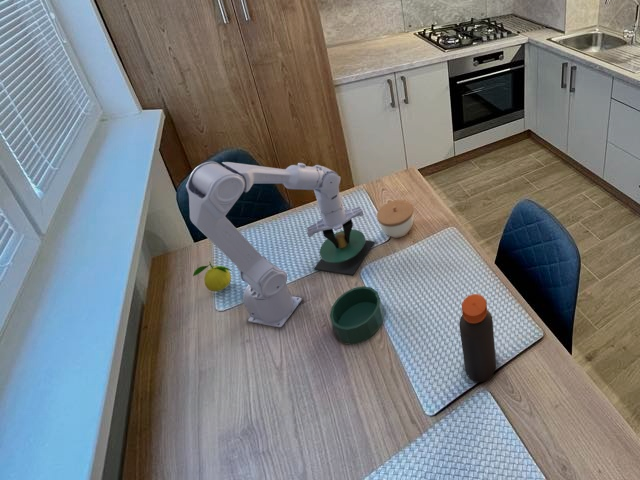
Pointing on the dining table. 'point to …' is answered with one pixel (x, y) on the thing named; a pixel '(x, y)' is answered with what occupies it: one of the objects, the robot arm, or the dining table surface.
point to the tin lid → (342, 247)
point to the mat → (346, 262)
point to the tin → (357, 315)
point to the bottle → (477, 338)
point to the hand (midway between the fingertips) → (342, 243)
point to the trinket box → (396, 218)
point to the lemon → (215, 277)
